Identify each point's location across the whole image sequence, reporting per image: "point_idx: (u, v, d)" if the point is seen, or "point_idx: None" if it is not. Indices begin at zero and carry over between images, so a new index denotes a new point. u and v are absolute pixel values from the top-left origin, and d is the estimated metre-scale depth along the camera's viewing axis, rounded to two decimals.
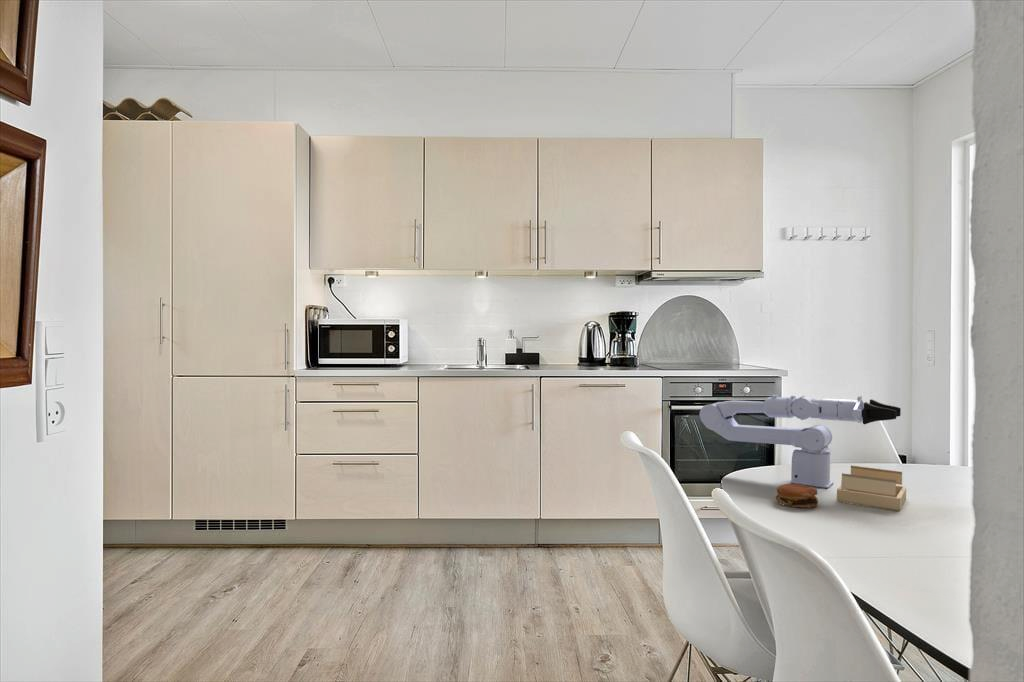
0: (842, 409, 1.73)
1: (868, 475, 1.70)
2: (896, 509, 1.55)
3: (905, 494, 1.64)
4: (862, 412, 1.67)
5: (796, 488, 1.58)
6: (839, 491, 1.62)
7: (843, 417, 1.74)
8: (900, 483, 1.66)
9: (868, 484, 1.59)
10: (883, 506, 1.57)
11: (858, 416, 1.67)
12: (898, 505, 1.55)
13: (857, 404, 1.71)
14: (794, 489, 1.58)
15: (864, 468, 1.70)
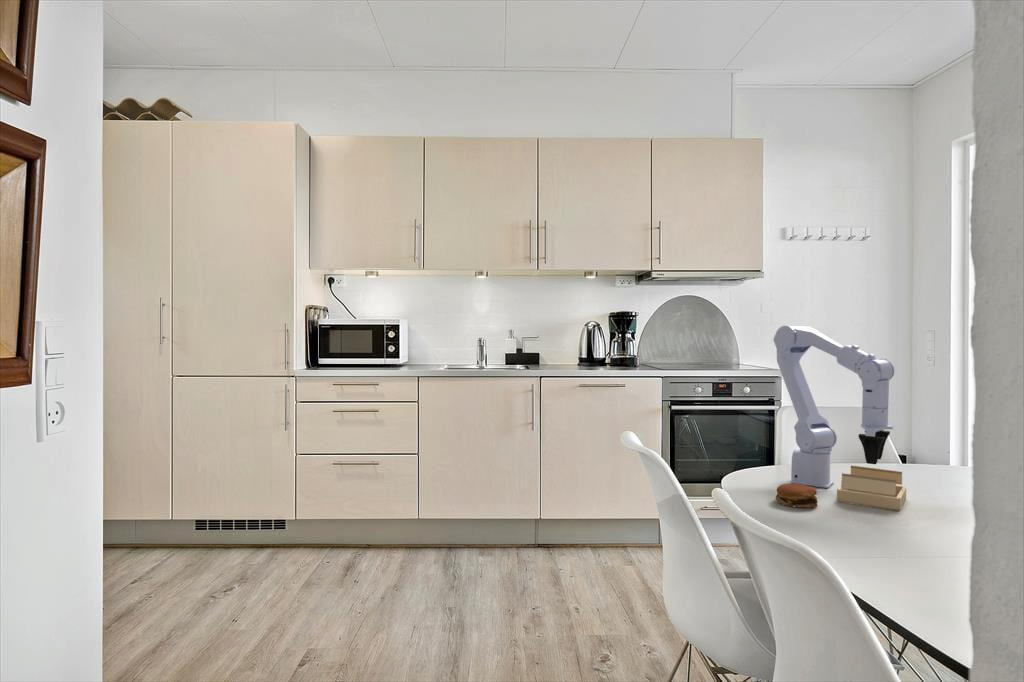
0: (875, 413, 1.63)
1: (868, 475, 1.70)
2: (896, 509, 1.55)
3: (905, 494, 1.64)
4: (872, 436, 1.60)
5: (796, 488, 1.58)
6: (839, 491, 1.62)
7: (865, 412, 1.64)
8: (900, 483, 1.66)
9: (868, 484, 1.59)
10: (883, 506, 1.57)
11: (866, 433, 1.60)
12: (898, 505, 1.55)
13: (881, 429, 1.61)
14: (794, 489, 1.58)
15: (864, 468, 1.70)
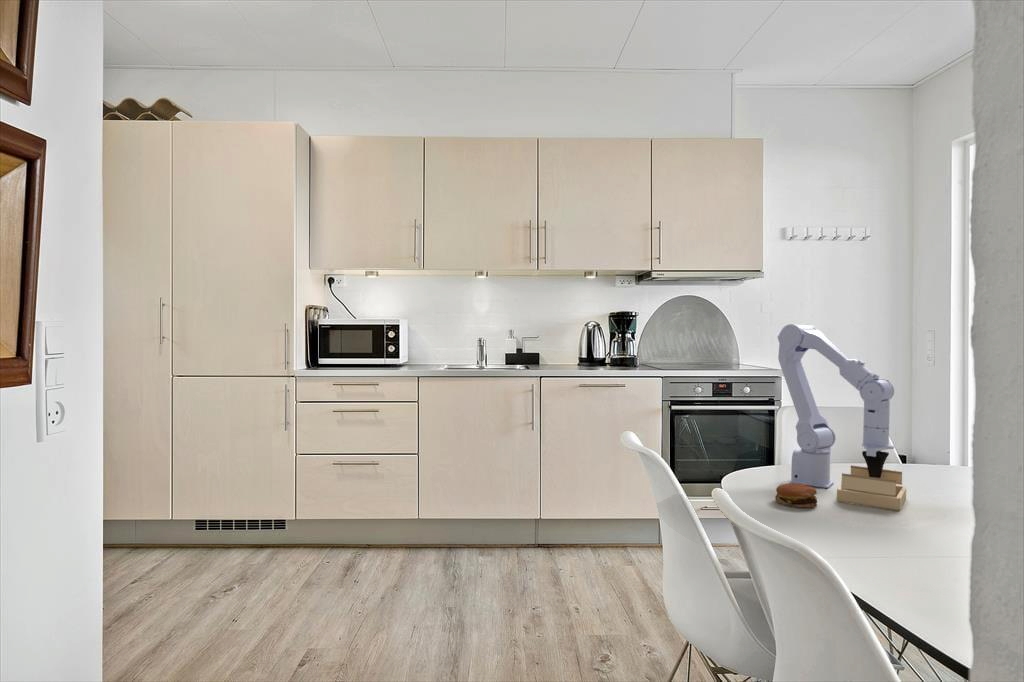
0: (876, 433, 1.65)
1: (868, 475, 1.70)
2: (896, 509, 1.55)
3: (905, 494, 1.64)
4: (872, 456, 1.62)
5: (795, 488, 1.58)
6: (839, 491, 1.62)
7: (866, 432, 1.67)
8: (900, 483, 1.66)
9: (868, 484, 1.59)
10: (883, 506, 1.57)
11: (867, 453, 1.62)
12: (898, 505, 1.55)
13: (882, 448, 1.64)
14: (794, 489, 1.58)
15: (864, 468, 1.70)
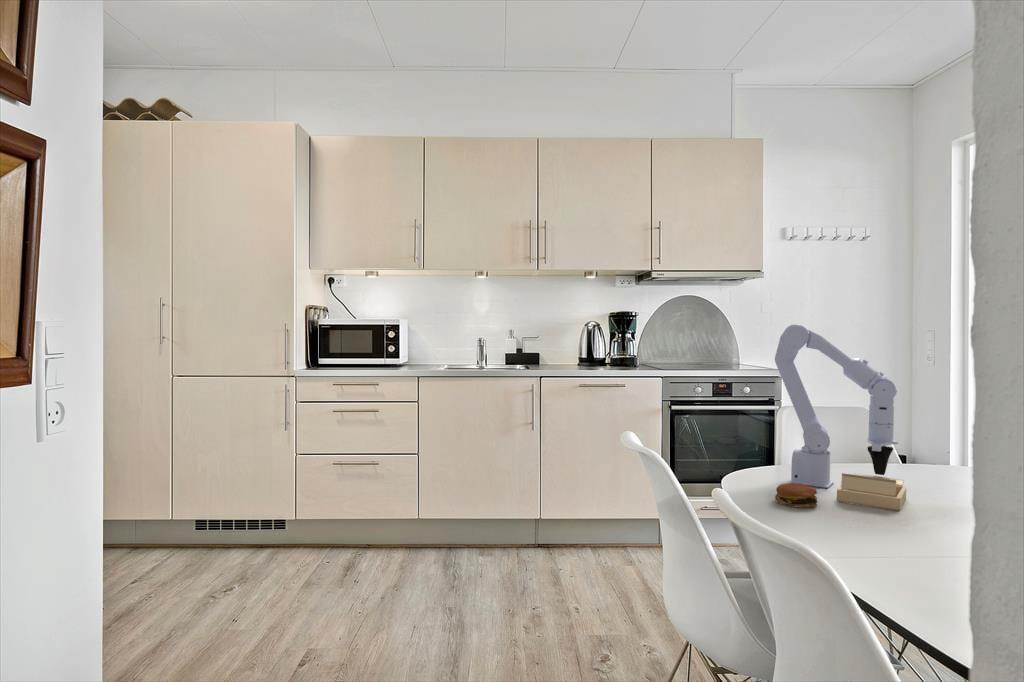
0: (881, 429, 1.72)
1: None
2: (896, 509, 1.55)
3: (905, 494, 1.64)
4: (878, 451, 1.69)
5: (795, 488, 1.59)
6: (839, 491, 1.62)
7: (872, 428, 1.73)
8: (901, 484, 1.67)
9: (868, 484, 1.59)
10: (883, 506, 1.57)
11: (873, 448, 1.69)
12: (898, 505, 1.55)
13: (887, 444, 1.70)
14: (794, 489, 1.58)
15: (867, 475, 1.74)
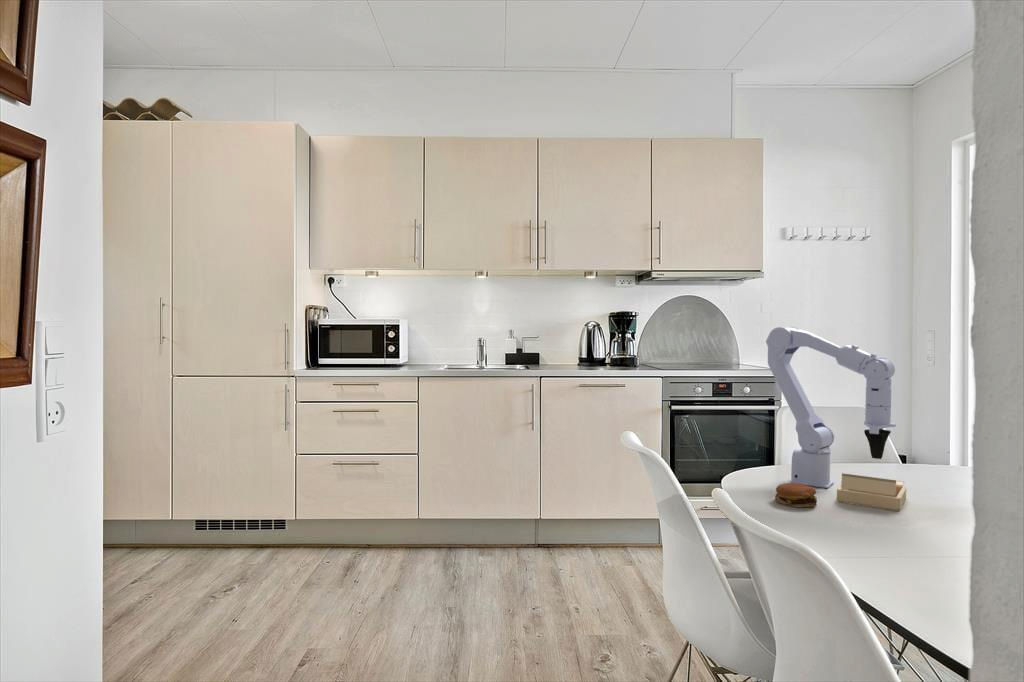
0: (878, 411, 1.66)
1: None
2: (896, 509, 1.55)
3: (905, 494, 1.64)
4: (875, 434, 1.64)
5: (795, 487, 1.59)
6: (839, 491, 1.62)
7: (869, 410, 1.68)
8: (901, 484, 1.67)
9: (868, 484, 1.59)
10: (883, 506, 1.57)
11: (870, 431, 1.64)
12: (898, 505, 1.55)
13: (885, 426, 1.65)
14: (793, 488, 1.58)
15: None
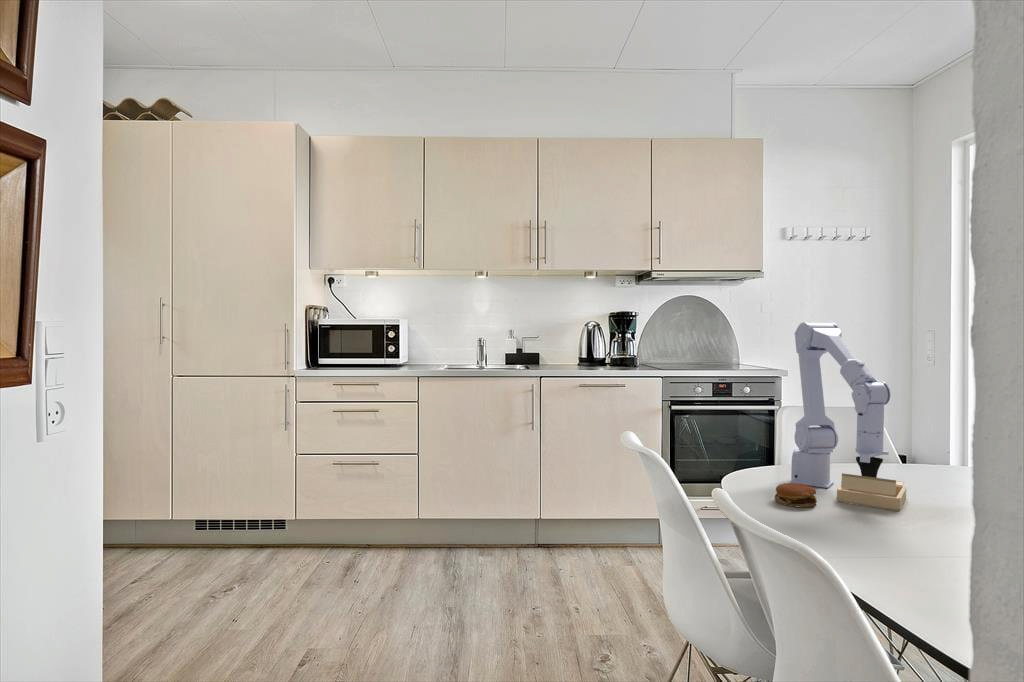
0: (870, 438, 1.57)
1: None
2: (896, 509, 1.55)
3: (905, 494, 1.64)
4: (866, 462, 1.55)
5: (795, 487, 1.59)
6: (839, 491, 1.62)
7: (860, 437, 1.59)
8: (901, 484, 1.67)
9: (868, 484, 1.59)
10: (883, 506, 1.57)
11: (861, 459, 1.54)
12: (898, 505, 1.55)
13: (876, 454, 1.56)
14: (793, 488, 1.58)
15: None
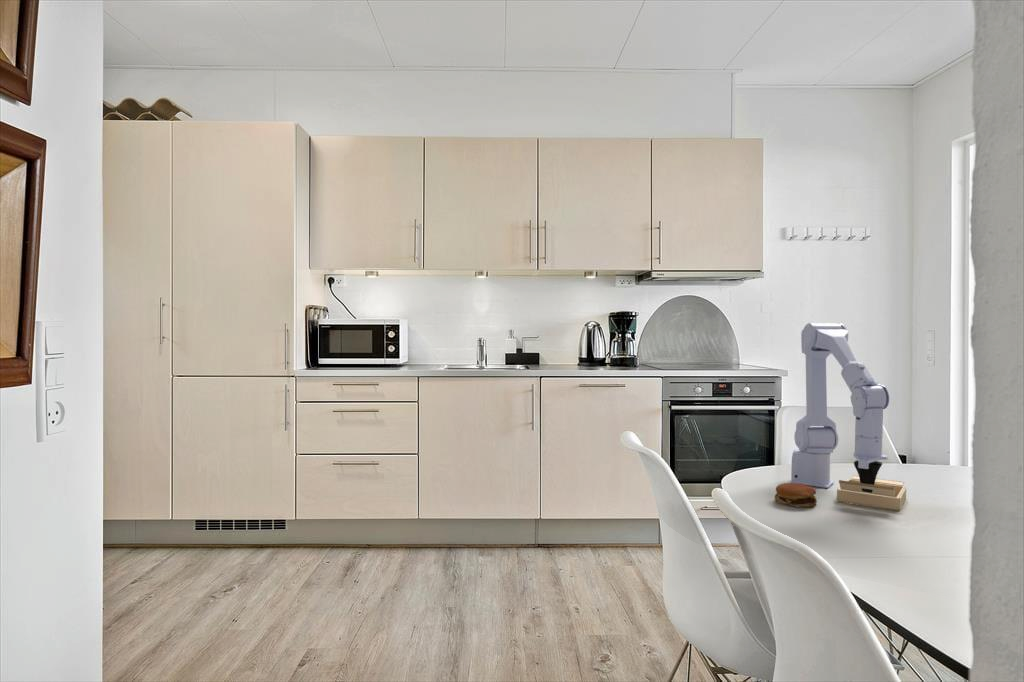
0: (868, 443, 1.54)
1: None
2: (896, 509, 1.55)
3: (905, 494, 1.64)
4: (865, 468, 1.52)
5: (795, 487, 1.59)
6: (839, 491, 1.62)
7: (858, 442, 1.56)
8: (901, 484, 1.67)
9: None
10: (883, 506, 1.57)
11: (859, 465, 1.51)
12: (898, 505, 1.55)
13: (875, 459, 1.53)
14: (793, 488, 1.58)
15: None
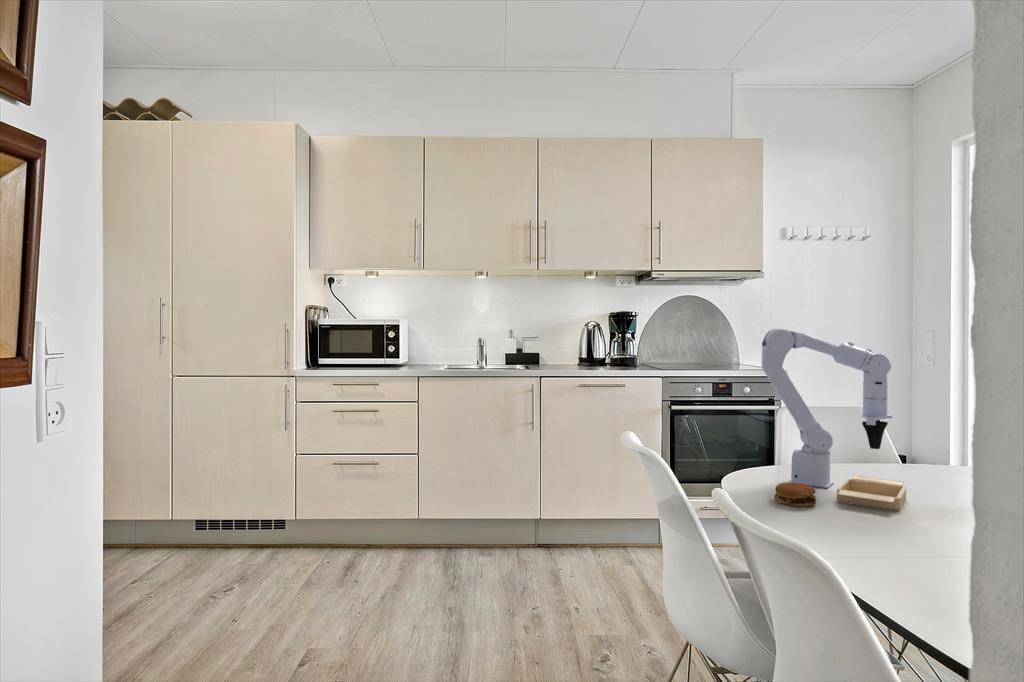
0: (875, 403, 1.74)
1: (869, 479, 1.72)
2: (896, 509, 1.55)
3: (905, 494, 1.64)
4: (872, 425, 1.72)
5: (794, 487, 1.59)
6: (839, 491, 1.62)
7: (866, 403, 1.76)
8: (901, 484, 1.67)
9: None
10: (883, 506, 1.57)
11: (867, 422, 1.72)
12: (898, 505, 1.55)
13: (881, 418, 1.73)
14: (793, 488, 1.59)
15: (867, 477, 1.74)
